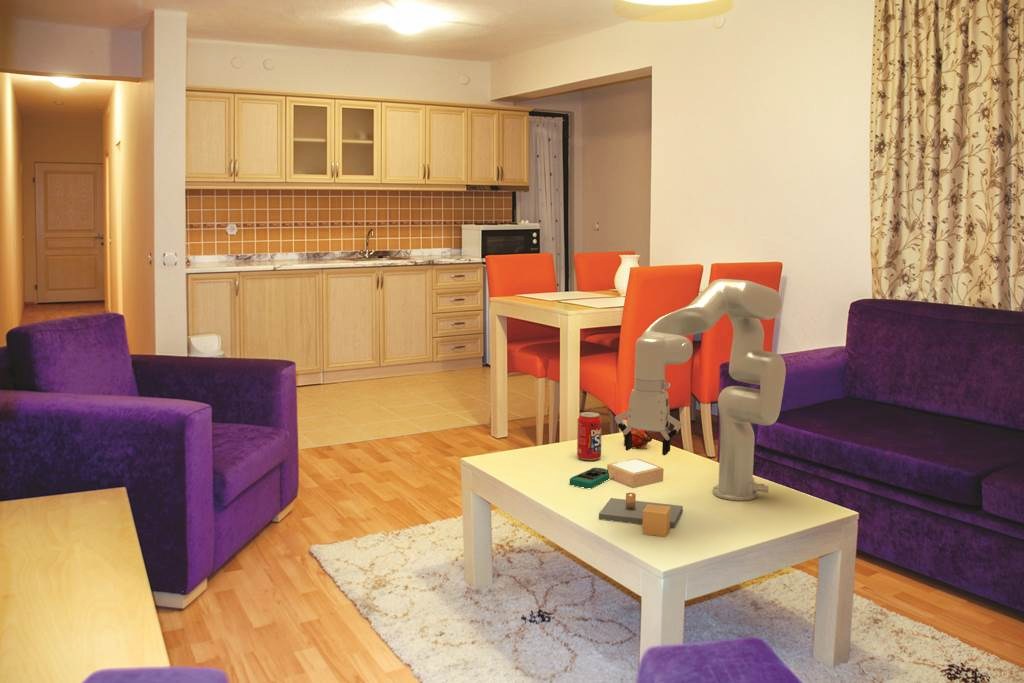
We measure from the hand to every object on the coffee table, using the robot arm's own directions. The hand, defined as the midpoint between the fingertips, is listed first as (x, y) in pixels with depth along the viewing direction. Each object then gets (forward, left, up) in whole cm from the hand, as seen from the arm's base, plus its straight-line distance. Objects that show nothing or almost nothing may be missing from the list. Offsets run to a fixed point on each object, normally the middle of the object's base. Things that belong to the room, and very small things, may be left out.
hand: (646, 451), depth 231 cm
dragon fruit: (+18, -80, -21) cm, 84 cm away
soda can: (+30, -59, -21) cm, 69 cm away
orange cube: (-3, +1, -20) cm, 21 cm away
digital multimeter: (+23, -35, -21) cm, 47 cm away
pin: (+6, -10, -19) cm, 22 cm away
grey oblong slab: (+3, -10, -20) cm, 23 cm away
